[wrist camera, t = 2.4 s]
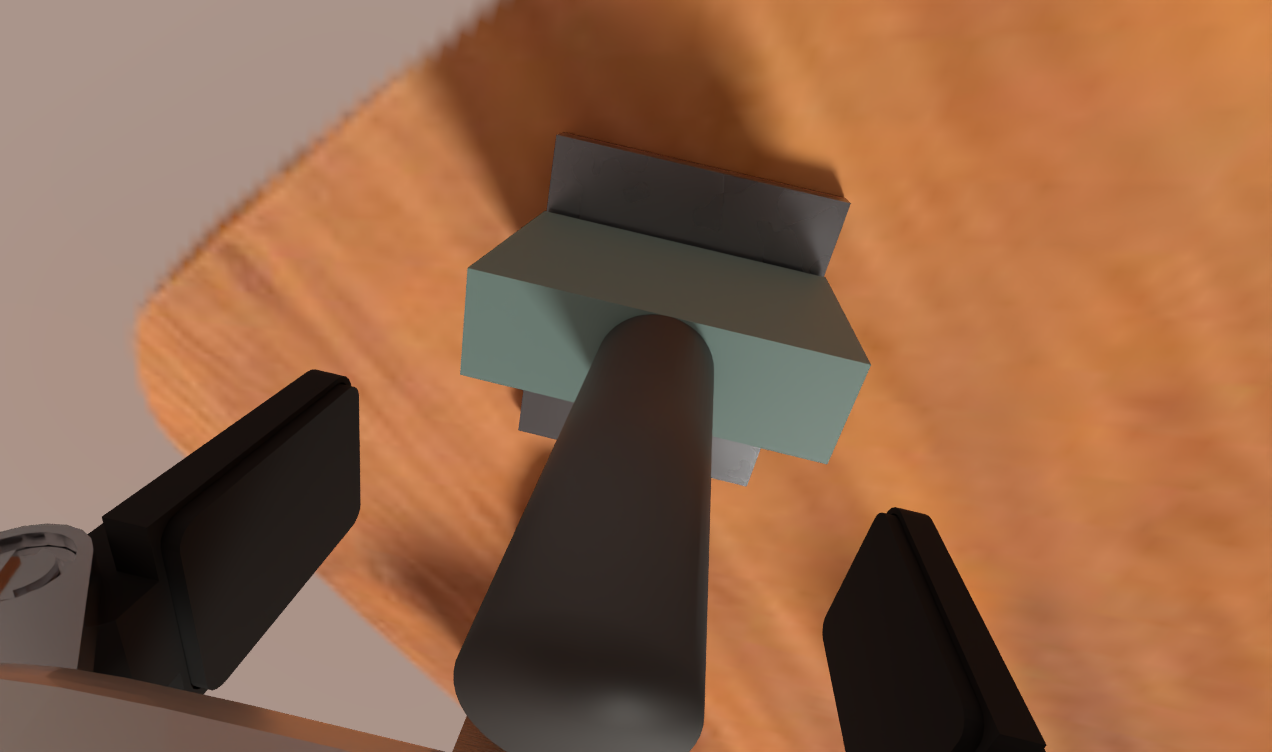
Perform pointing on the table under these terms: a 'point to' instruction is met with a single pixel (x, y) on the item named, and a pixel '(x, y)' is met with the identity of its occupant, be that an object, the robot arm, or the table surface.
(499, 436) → the table surface
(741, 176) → the dark grey flat plate
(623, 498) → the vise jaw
